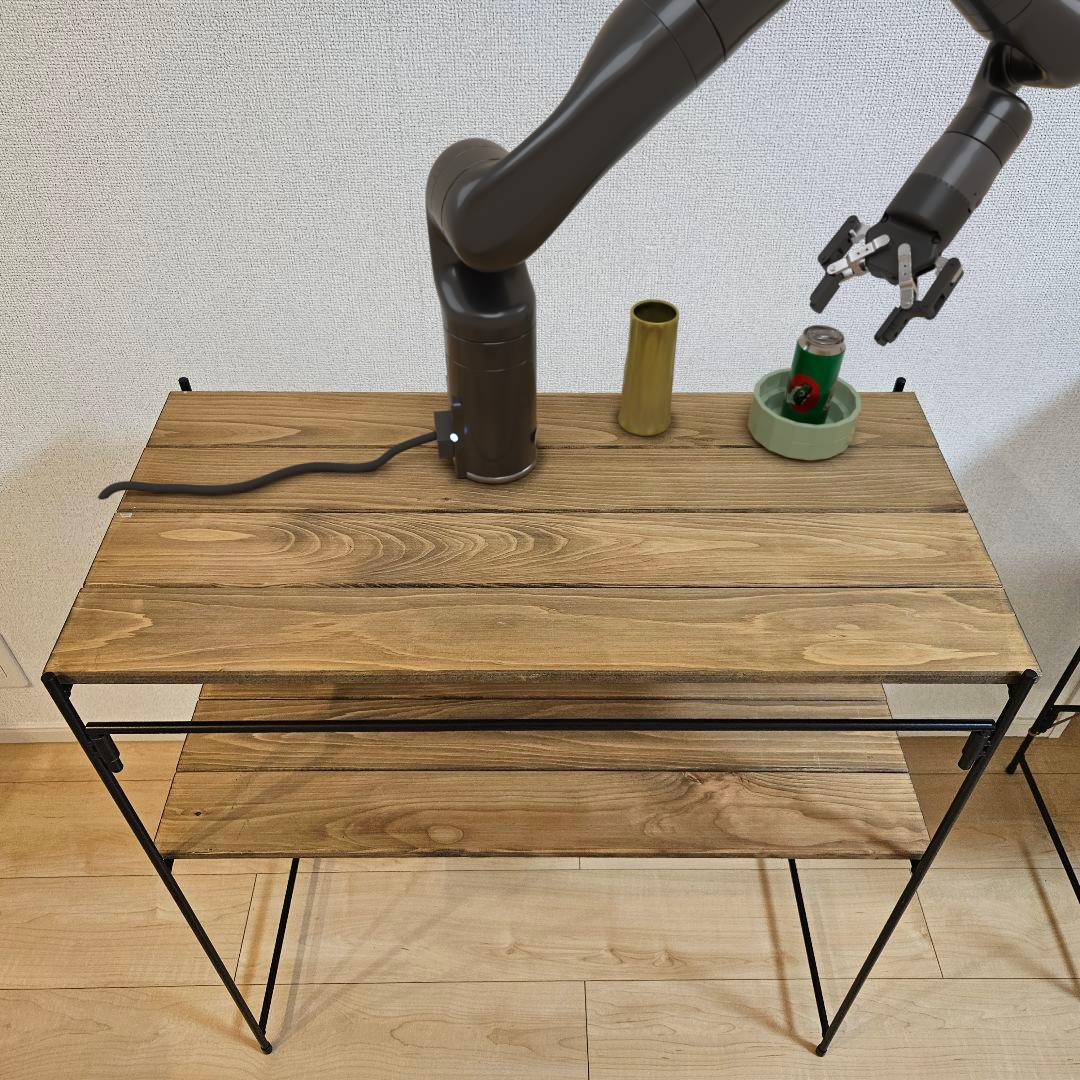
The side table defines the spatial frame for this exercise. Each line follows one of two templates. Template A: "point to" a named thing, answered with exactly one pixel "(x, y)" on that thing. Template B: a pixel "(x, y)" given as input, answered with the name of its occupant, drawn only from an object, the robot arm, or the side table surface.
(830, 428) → the bowl
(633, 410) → the vase
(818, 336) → the soda can
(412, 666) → the side table surface
